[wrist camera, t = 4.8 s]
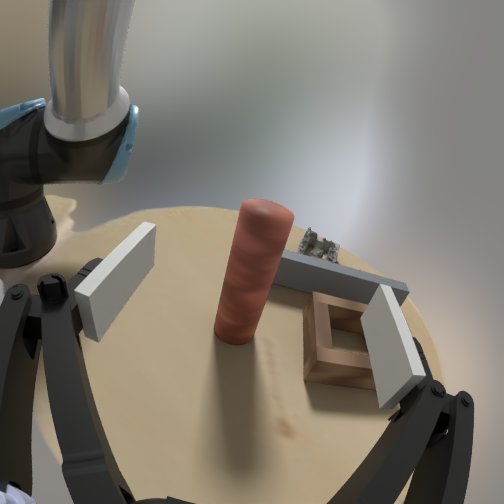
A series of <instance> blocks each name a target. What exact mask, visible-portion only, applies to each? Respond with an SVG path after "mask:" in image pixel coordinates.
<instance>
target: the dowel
mask: <svg viewBox="0 0 504 504" xmlns="http://www.w3.org/2000/svg"><path fill="white" fill-rule="evenodd" d="M293 221H294V215H293V213H292V212H291V211H290V210H289V209H287V208H285V207H284V206H282V205H280V204H277V203H274V202H271V201H267V200H263V199H247V200H245V201H243V202H242V205H241V208H240V213H239V217H238V221H237V225H236V230H235V234H234V238H233V243H232V247H231V251H230V256H229V260H228V265H227V269H226V274H225V278H224V283H223V287H222V292H221V296H220V301H219V305H218V310H217V315H216V319H215V324H214V330H215V333H216V334H217V336H218V337H219V338H220V339H221V340H223V341H224V342H227V343H229V344H233V345H242V344H245V343H247V342H249V341H250V340H251V339H252V338H253V336H254V333H255V330H256V328H257V325H258V322H259V319H260V317H261V314H262V311H263V308H264V305H265V303H266V300H267V297H268V294H269V291H270V288H271V286H272V283H273V280H274V277H275V274H276V271H277V268H278V265H279V263H280V260H281V257H282V254H283V251H284V248H285V245H286V242H287V239H288V236H289V233H290V230H291V227H292V224H293Z"/></svg>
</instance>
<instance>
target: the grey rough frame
mask: <svg viewBox="0 0 504 504" xmlns="http://www.w3.org/2000/svg"><path fill="white" fill-rule="evenodd" d="M308 244H310V245H312V246H313V250H312V251H311V254H309V255H308V256H310V257H314V258H318V259H321V260H324V259H322V257H323V254H324V250H325V251H327V252H328V255H327V257H326V260H325V261H328V262H332V263H333V262H336V259H337V255H338V251H339V247H340V245H339V244H337V243H333V242H332V241H327V240H326V238H323V240H320V239H317V233H315V232H313V231H311V228H310V227H309V228H308V230H307V231H306V233H305V235H304V237H303V238H302V241H301V242H300V244H299V248H298V253H299V254H303V255H304V254H305V252H306V249H307V245H308Z"/></svg>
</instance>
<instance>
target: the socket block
mask: <svg viewBox="0 0 504 504" xmlns="http://www.w3.org/2000/svg"><path fill="white" fill-rule="evenodd" d="M367 306H368V305H367V304H363V303H359V302H355V301H351V300H346V299H342V298H338V297H334V296H330V295H326V294H322V293H318V292H314V291H313V292H312V294H311V296H310V298H309V300H308V303H307V305H306V307H305V309H304V311H303V341H304V381H310V382H316V383H323V384H330V385H337V386H345V387H353V388H362V389H373V390H376V386H375V381H374V376H373V371H372V366H371V362H370V357H369V355H363V354H356V353H351V352H345V351H339V350H334V349H333V344H332V335H331V328H334V329H339V330H344V331H349V332H354V333H359V334H364V331H363V327H362V323H361V319H360V318H361V316H362V315H363V313H364V311H365V310H366V308H367Z"/></svg>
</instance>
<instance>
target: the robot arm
mask: <svg viewBox="0 0 504 504" xmlns="http://www.w3.org/2000/svg"><path fill="white" fill-rule="evenodd" d="M134 2H135V0H49V7H48V62H49V76H50V87H51V95H52V99H51V100H50V101H49V103H48V105H47V107H45V106H46V103H45V99H44V98H40V99H37V100H32V101H29V102H25V103H22V104H18V105H15V106H11V107H8V108H5V109H2V110H0V267H3V268H11V267H18V266H22V265H25V264H28V263H30V262H33V261H35V260H37V259H38V258H40V257H42V256H43V255H44V254H46V253H47V252H48V251H49V250H50V249H51V248H52V247H53V245H54V244H55V242H56V239H57V230H56V223H55V220H54V218H53V216H52V213H51V210H50V208H49V206H48V203H47V201H46V198H45V196H44V191H43V185H44V184H99V185H101V184H103V183H115V182H119V181H121V180H122V179H123V178H124V177H125V175H126V172H127V170H128V166H129V161H130V158H131V153H132V146H133V143H134V139H135V134H136V129H137V124H138V117H139V109H138V107H137V106H134V105H132V104H130V102H129V96H128V94H127V92H126V91H125V89H124V88H122V87H121V86H120V79H121V71H122V64H123V57H124V51H125V45H126V39H127V33H128V29H129V23H130V19H131V14H132V10H133V6H134ZM155 234H156V224H152V223H148V222H143V223H142V224H141V225H140V226H139V227H138V228H137V229H135V230H134V231H133V232H132V233H131V234H130V235H129V236H128V237H127V238H126V239H125V240H124V241H122V242H121V243H120V244H119V245H118V246H117V247H116V248H115V249H114V250H113V251H112V252H111V253H110V254H109V255H108V256H107V257H106V258H105V259H104V260H103V259H100V258H95V259H93V260H91V261H89V262H88V263H87V264H86V265H85V266H84V267H83V269H81V270H80V271H79V272H78V274H76V275H75V276H74V277H73V278H72V279H71V280H70V281H69V282H68V283H67V284H66V281H65V278H64V277H63V276H62V275H60V274H48V275H45V276H43V277H42V278H41V279H40V280H39V281H38V284H37V287H38V291H39V294H40V296H39V295H32V294H30V291H29V288H28V287H27V286H26V285H24V284H16V285H14V286H12V287H11V288H9V289H8V291H7V292H6V294H5V296H4V299H3V302H2V304H1V306H0V504H36V502H35V501H34V500H33V499H32V498H31V495H32V455H31V432H32V412H33V399H34V390H35V381H36V374H37V367H38V361H39V355H40V350H41V345H43V358H44V368H45V376H46V384H47V390H48V397H49V402H50V408H51V413H52V418H53V422H54V427H55V431H56V435H57V439H58V443H59V446H60V450H61V453H62V457H63V463H62V472H63V476H64V479H65V482H66V485H67V487H68V490H69V492H70V495H71V497H72V500H73V502H74V504H194V503H190V502H187V501H183V500H179V499H175V498H172V497H169V496H167V499H162V498H152V499H144V500H139V501H136V500H135V498H134V496H133V494H132V492H131V490H130V488H129V487H128V485H127V483H126V481H125V479H124V477H123V476H122V474H121V472H120V470H119V468H118V465H117V463H116V461H115V458H114V456H113V453H112V451H111V448H110V446H109V443H108V440H107V438H106V435H105V432H104V429H103V426H102V424H101V421H100V417H99V414H98V411H97V408H96V405H95V401H94V398H93V394H92V390H91V387H90V383H89V379H88V375H87V371H86V366H85V362H84V357H83V352H82V347H81V342H80V337H79V333H80V331H81V330H82V329H83V330H84V334H85V337H87V338H89V339H92V340H94V341H96V342H98V343H99V342H100V340H101V339H102V337H103V336H104V334H105V333H106V331H107V330H108V328H109V327H110V325H111V324H112V322H113V321H114V320H115V318H116V317H117V315H118V314H119V312H120V311H121V310H122V308H123V307H124V305H125V304H126V302H127V301H128V300H129V298H130V297H131V296H132V294H133V293H134V291H135V290H136V289H137V287H138V286H139V285H140V283H141V282H142V281H143V279H144V278H145V277H146V275H147V274H148V273H149V271H150V270H151V269H152V267H153V266H154V252H155ZM360 319H361V323H362V327H363V331H364V335H365V339H366V344H367V348H368V352H369V357H370V362H371V366H372V371H373V376H374V381H375V386H376V391H377V397H378V403H379V408H380V409H393V408H394V407H395V406H396V405H397V404H398V403H400V409H399V410H398V411H397V412H396V413H395V414H393V415H392V416H391V417H390V418H389V419H388V420H389V421H390V420H391V419H392V420H391V422H390V423H389V425H388V426H387V428H386V429H385V431H384V433H383V434H382V435H381V437H380V438H379V440H378V441H377V443H376V444H375V446H374V447H373V448H372V450H371V451H370V453H369V454H368V455H367V457H366V458H365V459H364V461H363V462H362V463H361V464H360V466H359V467H358V468H357V469H356V471H355V472H354V473H353V474H352V476H351V477H350V478H349V479H348V480H347V482H346V483H345V484H344V485H343V486H342V487H341V489H340V490H339V491H338V492H337V493H336V494H335V495H334V496H333V497H332V498H331V500H330V501H329V502H328V503H327V504H394V502H395V501H396V499H397V498H398V496H399V495H400V493H401V491H402V490H403V488H404V486H405V485H406V483H407V481H408V480H409V478H410V476H411V474H412V473H413V471H414V473H413V476H412V480H411V483H410V486H409V489H408V492H407V495H406V498H405V501H404V504H463V503H464V499H465V494H466V489H467V483H468V477H469V471H470V463H471V455H472V444H473V428H474V402H473V399H472V397H471V396H470V394H468V393H467V392H465V391H460V392H459V393H458V394H457V395H456V396H452V395H450V394H447V393H446V390H445V388H444V386H443V385H442V384H441V383H440V382H439V381H437V380H433V377H432V374H431V371H430V368H429V366H428V363H427V360H425V359H426V358H425V355H424V354H423V353H424V352H423V350H422V347H421V345H420V343H419V342H418V341H417V339H416V338H415V337H412V336H411V333H410V331H409V328H408V326H407V323H406V321H405V318H404V316H403V314H402V311H401V309H400V307H399V304H398V302H397V300H396V297H395V295H394V293H393V291H392V289H391V287H390V286H387V285H383V284H380V285H379V287H378V288H377V290H376V292H375V294H374V296H373V297H372V299H371V301H370V303H369V304H368V306H367V308H366V310H365V311H364V313H363V315H362V316H361V318H360ZM447 430H448V433H447V435H446V432H447ZM414 469H415V470H414Z"/></svg>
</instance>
